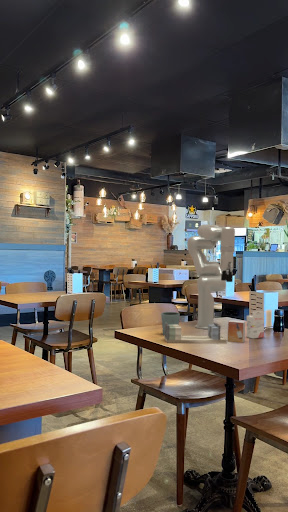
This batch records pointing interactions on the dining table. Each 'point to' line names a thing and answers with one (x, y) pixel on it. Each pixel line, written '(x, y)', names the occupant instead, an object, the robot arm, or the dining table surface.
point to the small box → (236, 331)
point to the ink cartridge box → (255, 325)
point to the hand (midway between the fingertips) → (226, 281)
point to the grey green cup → (169, 319)
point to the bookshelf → (175, 336)
